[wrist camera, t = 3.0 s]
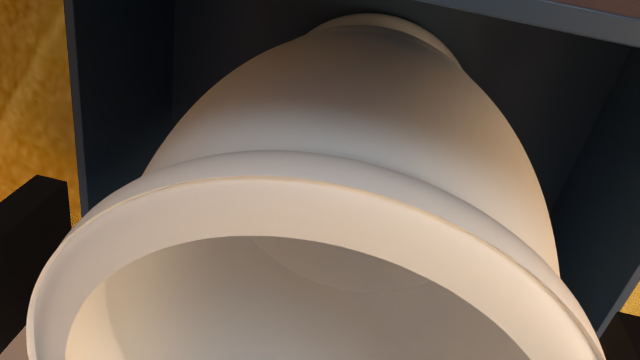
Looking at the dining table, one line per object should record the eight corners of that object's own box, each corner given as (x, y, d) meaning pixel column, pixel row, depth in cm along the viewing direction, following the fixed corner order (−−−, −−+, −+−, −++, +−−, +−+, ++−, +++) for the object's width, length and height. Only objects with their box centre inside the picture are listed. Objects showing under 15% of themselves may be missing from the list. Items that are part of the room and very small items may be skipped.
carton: (687, -56, 17) (1378, 98, 5) (516, 290, 26) (610, 683, 13) (173, -159, 18) (-351, -250, 6) (166, 206, 27) (-61, 494, 14)
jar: (531, 178, 22) (686, 585, 9) (317, 243, 26) (216, 603, 13) (444, -71, 18) (505, 42, 5) (205, 49, 22) (-106, 289, 9)
